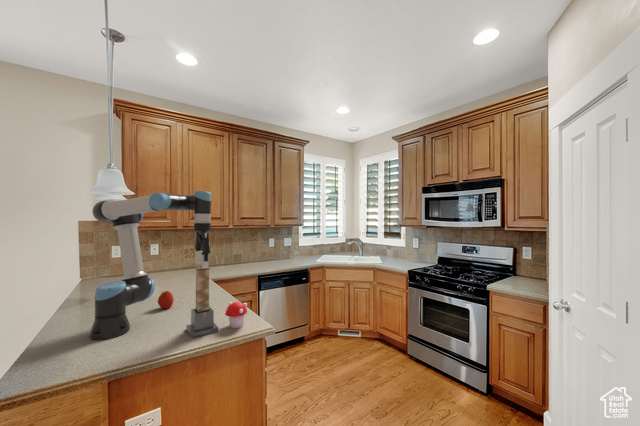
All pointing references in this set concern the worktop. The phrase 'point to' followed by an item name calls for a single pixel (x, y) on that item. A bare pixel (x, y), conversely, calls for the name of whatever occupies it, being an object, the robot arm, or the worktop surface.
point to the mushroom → (236, 314)
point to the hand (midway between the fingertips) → (201, 265)
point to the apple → (165, 300)
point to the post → (202, 289)
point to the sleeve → (201, 323)
